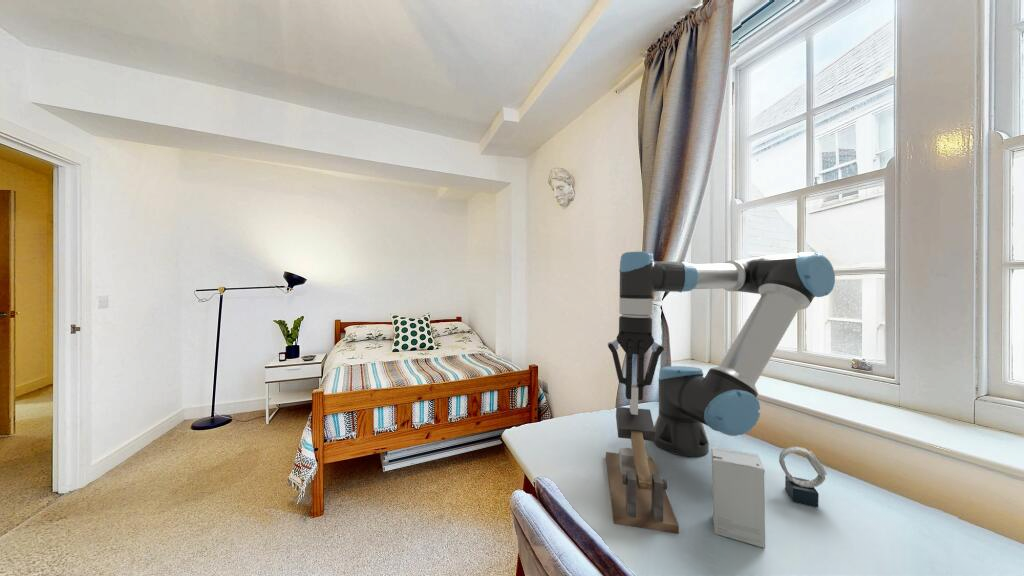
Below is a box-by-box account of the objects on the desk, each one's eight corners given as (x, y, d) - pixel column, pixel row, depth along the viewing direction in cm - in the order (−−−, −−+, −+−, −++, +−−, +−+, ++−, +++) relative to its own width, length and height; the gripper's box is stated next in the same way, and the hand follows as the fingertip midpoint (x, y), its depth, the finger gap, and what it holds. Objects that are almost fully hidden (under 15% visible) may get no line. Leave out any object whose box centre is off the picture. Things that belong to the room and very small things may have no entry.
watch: (830, 510, 70) (831, 459, 70) (782, 499, 74) (783, 450, 74) (819, 495, 76) (820, 447, 75) (775, 486, 79) (776, 440, 79)
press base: (652, 462, 89) (652, 429, 89) (678, 533, 64) (679, 487, 64) (605, 457, 92) (606, 424, 92) (613, 523, 66) (614, 478, 66)
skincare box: (760, 529, 65) (761, 454, 65) (766, 551, 60) (767, 469, 59) (710, 515, 69) (711, 444, 69) (711, 534, 64) (712, 457, 63)
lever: (649, 418, 84) (650, 409, 82) (666, 495, 66) (667, 485, 64) (615, 415, 85) (616, 406, 84) (623, 489, 67) (624, 479, 66)
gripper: (660, 315, 83) (659, 409, 83) (606, 313, 86) (605, 404, 86) (668, 318, 76) (666, 421, 76) (608, 316, 78) (606, 415, 79)
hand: (633, 412), depth 81 cm, fingers closed
